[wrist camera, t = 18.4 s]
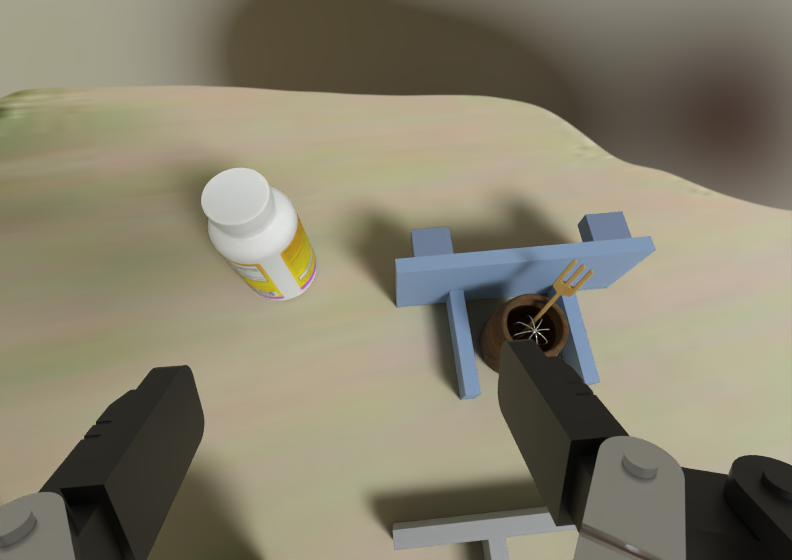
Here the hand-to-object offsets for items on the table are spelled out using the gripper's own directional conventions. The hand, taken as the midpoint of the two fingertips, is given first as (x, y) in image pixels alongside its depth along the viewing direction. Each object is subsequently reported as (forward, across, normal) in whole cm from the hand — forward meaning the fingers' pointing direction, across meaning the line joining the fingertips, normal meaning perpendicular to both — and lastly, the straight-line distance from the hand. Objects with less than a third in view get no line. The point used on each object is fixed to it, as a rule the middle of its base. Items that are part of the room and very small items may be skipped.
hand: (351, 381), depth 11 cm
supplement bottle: (+29, +7, +8) cm, 31 cm away
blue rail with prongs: (+23, -13, +12) cm, 29 cm away
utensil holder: (+22, -13, +14) cm, 29 cm away
